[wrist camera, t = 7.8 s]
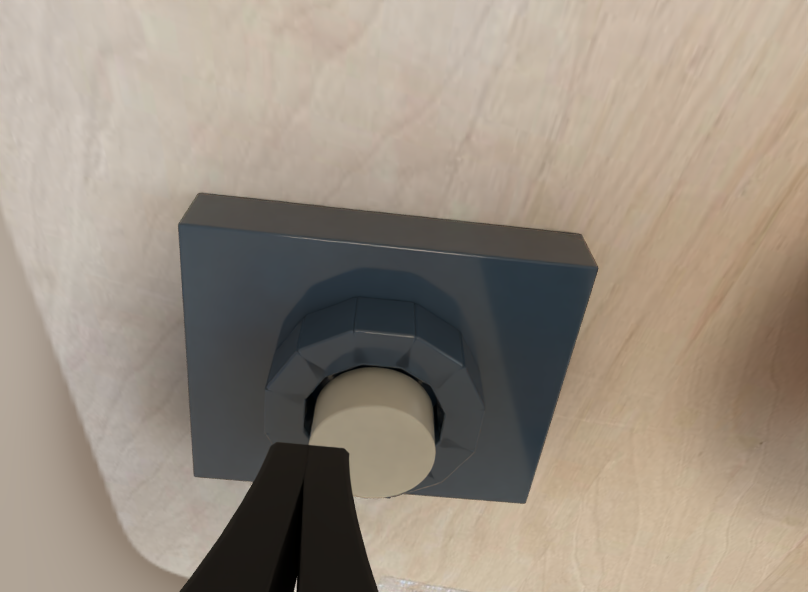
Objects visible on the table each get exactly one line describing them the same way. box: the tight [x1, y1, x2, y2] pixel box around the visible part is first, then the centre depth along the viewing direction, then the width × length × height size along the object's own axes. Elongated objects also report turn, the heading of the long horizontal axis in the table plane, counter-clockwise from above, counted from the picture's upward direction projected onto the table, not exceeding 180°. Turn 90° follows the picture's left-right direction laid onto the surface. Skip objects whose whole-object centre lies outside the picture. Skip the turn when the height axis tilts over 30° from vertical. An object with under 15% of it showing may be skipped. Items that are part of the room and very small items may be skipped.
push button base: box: [178, 193, 598, 504], centre depth 22 cm, size 12×10×4 cm
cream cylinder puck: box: [309, 367, 436, 498], centre depth 20 cm, size 4×4×2 cm
